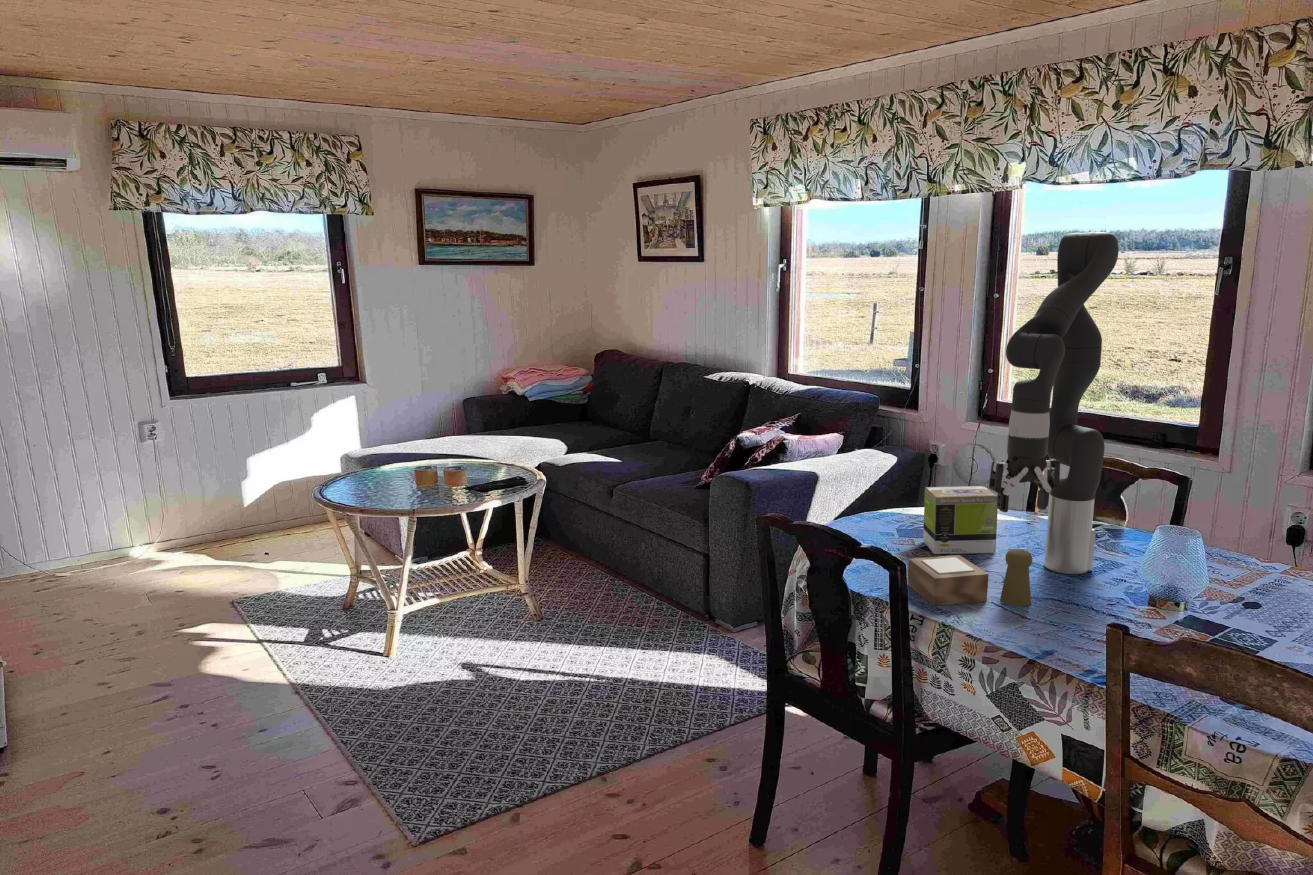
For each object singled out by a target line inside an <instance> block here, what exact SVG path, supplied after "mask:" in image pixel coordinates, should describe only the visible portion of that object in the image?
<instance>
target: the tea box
mask: <svg viewBox="0 0 1313 875" xmlns="http://www.w3.org/2000/svg"><path fill="white" fill-rule="evenodd" d="M997 499H998V494H995V493H994V491H993V492H992V490H991V489H988V488H987V487H985V485H965V486H964V485H963V486H927V487H926V486H925V488H924V505H923V506H924V507H923V508H924V510H923V532H922V533H923V535H922V536H923V537H922V538H923V540H922V541H923V543H924V544H925V545H926V546H927V547H928V548H929V550H930V551H931V552H932V554H934V555H950V554H951V555H953V554H954V555H960V554H996V547H997V529H998V528H997V526H998V510H999V508H998V507H997Z"/></svg>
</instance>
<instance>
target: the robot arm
mask: <svg viewBox="0 0 1313 875" xmlns="http://www.w3.org/2000/svg"><path fill="white" fill-rule="evenodd" d="M1119 251H1120V250H1119V242H1118V239H1117V237H1116V235H1115V234H1114V233H1111V232H1104V231H1100V232H1099V231H1098V232H1097V231H1095V232H1094V231H1091V232H1072V233H1071V232H1070V233H1066V234H1064V235H1063V236H1062V237H1061V240H1060V241H1059V244H1058V249H1057V256H1056V258H1057V259H1056V260H1057V264H1056V267H1057V269H1056V270H1057V274H1056V275H1057V287H1056V288H1054V289H1053V290H1052V291H1051V292H1050V293H1049V294H1047V296H1046V297H1045V298H1044V299H1043V301H1042V302H1041V304H1040V306H1039V307H1038V309H1037V311H1036V312H1035V314H1034V316H1033V317H1031V318H1030V319H1029V320H1027V321H1026V322H1025V323H1024V324H1023V325H1022V326H1021V327H1019V328H1018V329H1017V330H1016V331H1015V332H1014V333H1013V334H1012V335H1011V337H1010V338H1009V340H1008V342H1007V344H1006V349H1005V357H1006V360H1007V361H1008V363H1009V364H1010V365H1011V366H1013V367H1015V368H1018V369H1019V368H1020V369H1031V370H1039V372H1038V374H1037V376H1036V377H1035V378H1033V379H1025V380H1024V379H1023V380H1019V381H1017V382H1016V383H1014V386H1013V388H1012V402H1011V410H1010V411H1011V412H1010V417H1009V420H1008V421H1009V422H1008V432H1007V433H1008V434H1007V447H1006V449H1007V450H1006V453H1007V459H1006V461H1005V462H1004V461H1002V462H999V461H997V460H994V461H992V462H991V468H990V475H989V484H988V488H989V489H988V490H990V491H993V492H995V493H997V496H998V499H997V507H998V510H999V511H1000V512H1002V513H1007V512H1009V500H1010V495H1009V493H1010V492H1011V490H1013V488H1015V487H1016V486H1017V485H1018V484H1019V483H1021V484H1023V483H1026V482H1028V483H1035V484H1036V486H1037V487H1038V489H1037V498H1036V499H1037V500H1036V508H1037V509H1038V510H1039V509H1040V511H1043V510H1045V511H1046V509H1047V507H1048V512H1047V514H1048V515H1047V526H1046V527H1047V528H1046V537H1045V538H1046V539H1045V549H1044V550H1045V551H1044V563H1043V564H1044V567H1045V568H1046V569H1048V570H1049V571H1053V572H1055V573H1060V574H1066V575H1081V574H1085V573H1088V572H1089V571H1092V570H1093V564H1094V563H1093V562H1094V553H1095V543H1096V530H1095V529H1094V528H1093V521H1094V511H1095V510H1094V508H1095V498H1096V492H1097V490H1098V487H1099V485H1100V482H1101V478H1102V477H1101V476H1102V470H1103V463H1104V457H1105V439H1104V437H1103V435H1102V433H1101V432H1100V431H1099V430H1097V429H1094V428H1090V427H1086V426H1085V427H1084V426H1081V425H1078V414H1079V407H1080V403H1081V400H1082V398H1083V396H1084V394H1085V393H1086V391H1087V390H1088V389H1089V387H1090V386H1091V385H1092V383H1093V382H1094V379H1095V378H1096V377H1097V375H1098V373H1099V370H1100V368H1101V360H1102V348H1103V347H1102V346H1103V339H1102V338H1103V337H1102V334H1101V331H1100V329H1099V327H1098V326H1097V324H1096V322H1095V320H1094V319H1093V317H1092V315H1091V314H1090V313H1089V311H1088V309H1087V308H1086V305H1085V303H1086V302H1087V301H1088V299H1089V298H1090V297H1091V296H1092V295H1093V294H1094V293H1095V292H1096V291H1097V290H1098V289H1099V287H1100V286H1101V285H1102V284H1103V283H1104V281H1106V279H1107V278H1108V277H1109V276H1110V275H1111V273H1112V272H1113V271H1114V268H1115V266H1116V264H1117V262H1118V259H1119ZM1051 398H1052V399H1051ZM1047 456H1048V459H1046V457H1047ZM1061 465H1065V466H1069V470H1068V473H1067V477H1066V478H1060V477H1061ZM1045 469H1046V472H1047V473H1046V475H1047V476H1045V475H1044V474H1043V473H1044V471H1045ZM1006 471H1007V472H1006ZM1004 473H1005V474H1004ZM1003 474H1004V476H1003ZM1046 477H1047V478H1046Z"/></svg>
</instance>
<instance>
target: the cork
mask: <svg viewBox="0 0 1313 875" xmlns="http://www.w3.org/2000/svg"><path fill="white" fill-rule="evenodd" d="M1004 559H1005V563H1006V565H1007V566H1006V567H1007V568H1006V570H1005V576H1004V580H1003V586H1002V590H1001V593H1000V594H1001V595H1000V597H999V598H1000V601H1001V603H1004V604H1006V605H1009V606H1013V607H1015V606H1016V607H1027V606H1030V605H1031V604H1032V597H1031V580H1030V567H1031V566H1032V564H1033V556H1032V553H1030V552H1029V551H1028V550H1025V549H1021V548H1013V549H1009V550H1008V551H1007V552H1006V554H1005V558H1004Z"/></svg>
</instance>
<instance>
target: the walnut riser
mask: <svg viewBox="0 0 1313 875" xmlns="http://www.w3.org/2000/svg"><path fill="white" fill-rule="evenodd" d="M907 568H908V569H907V583H908V585H909V586H908V585H907V586H908V587H910V588H911V589H912V590H913V591H914V592H916V593H917V594H919V596H921V597H922V598H923V599H924V600H926V601H927V602H928V603H930V605H932V606H933V607H934V606H946V605H948V606H949V605H956V604H957V605H958V604H968V603H979V602H980V603H981V602H987V601H988V589H989V588H988V586H989V575H990V574H989V573H988V572H986V571H985V570H983V569H982V568H980V567H978V566H977V565H975V564H974V563H973V562H971V561H970V560H968V559H966V558H965V557H963V556H962V555H960V554H954V555H953V554H951V555H942V556H929V557H915V558H914V557H913V558H908V566H907Z"/></svg>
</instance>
